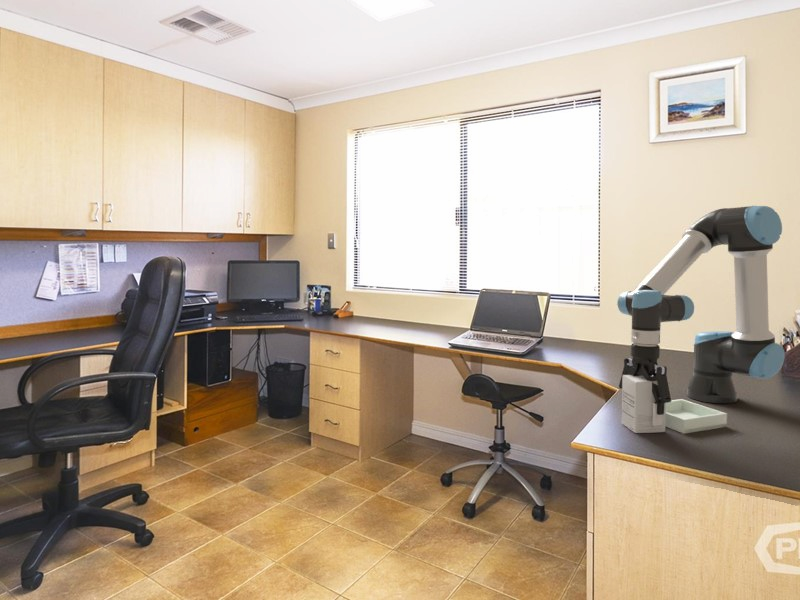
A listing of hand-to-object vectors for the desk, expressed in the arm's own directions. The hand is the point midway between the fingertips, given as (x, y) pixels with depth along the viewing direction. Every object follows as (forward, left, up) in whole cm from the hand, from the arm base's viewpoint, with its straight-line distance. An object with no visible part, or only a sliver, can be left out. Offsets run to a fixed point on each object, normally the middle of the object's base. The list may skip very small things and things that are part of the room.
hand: (642, 419), depth 155 cm
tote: (-15, 0, -3) cm, 15 cm away
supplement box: (0, 0, -3) cm, 3 cm away
